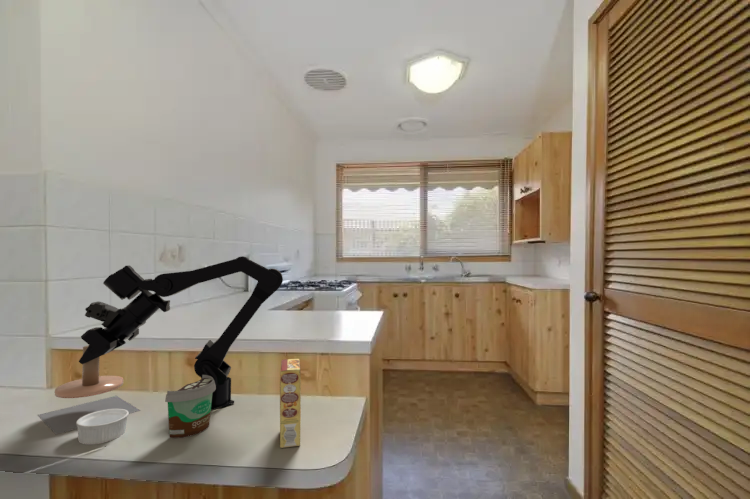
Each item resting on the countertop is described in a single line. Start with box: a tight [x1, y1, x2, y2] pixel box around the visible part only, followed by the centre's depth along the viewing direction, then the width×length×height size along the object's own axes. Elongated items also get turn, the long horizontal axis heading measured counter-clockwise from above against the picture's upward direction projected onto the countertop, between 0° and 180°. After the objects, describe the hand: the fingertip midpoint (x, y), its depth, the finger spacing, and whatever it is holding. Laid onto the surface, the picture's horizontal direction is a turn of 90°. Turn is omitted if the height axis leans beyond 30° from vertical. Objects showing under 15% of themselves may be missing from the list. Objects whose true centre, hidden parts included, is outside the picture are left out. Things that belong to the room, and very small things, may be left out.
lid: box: [54, 344, 124, 399], centre depth 89 cm, size 13×13×10 cm
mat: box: [37, 395, 141, 435], centre depth 89 cm, size 16×16×1 cm
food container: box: [165, 375, 216, 439], centre depth 82 cm, size 12×6×10 cm, turn 168°
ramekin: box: [76, 409, 130, 445], centre depth 78 cm, size 9×9×4 cm
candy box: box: [279, 358, 302, 449], centre depth 78 cm, size 9×4×15 cm, turn 13°
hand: (84, 360), depth 89 cm, fingers closed on lid, 3 cm apart
